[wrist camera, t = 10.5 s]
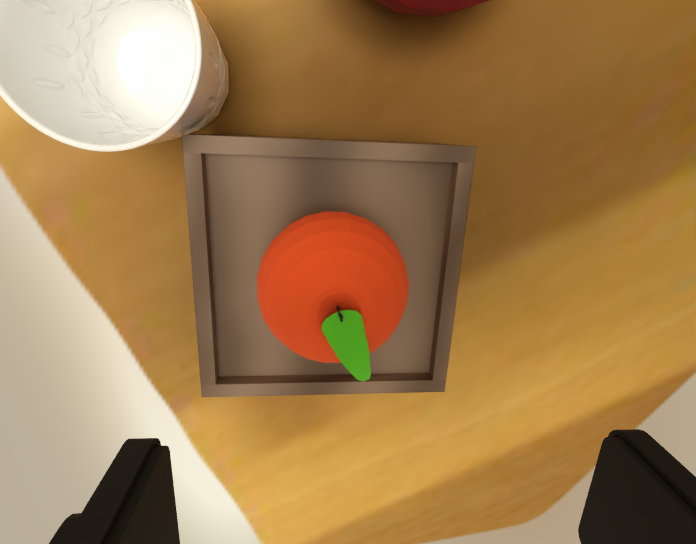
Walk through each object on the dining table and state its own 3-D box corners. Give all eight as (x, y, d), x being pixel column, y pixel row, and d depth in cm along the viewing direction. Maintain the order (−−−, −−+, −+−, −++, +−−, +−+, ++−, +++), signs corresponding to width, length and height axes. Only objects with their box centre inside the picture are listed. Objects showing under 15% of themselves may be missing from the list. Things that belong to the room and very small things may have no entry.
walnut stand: (435, 143, 27) (475, 146, 21) (415, 339, 32) (444, 391, 25) (212, 134, 26) (181, 134, 19) (223, 340, 30) (201, 397, 24)
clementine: (412, 313, 24) (455, 383, 18) (298, 355, 24) (298, 440, 18) (368, 180, 22) (400, 201, 15) (241, 227, 22) (215, 269, 15)
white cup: (240, 148, 26) (204, 158, 17) (106, 139, 25) (-12, 144, 16) (239, 3, 24) (196, -82, 14) (90, -13, 23) (-59, -114, 13)
